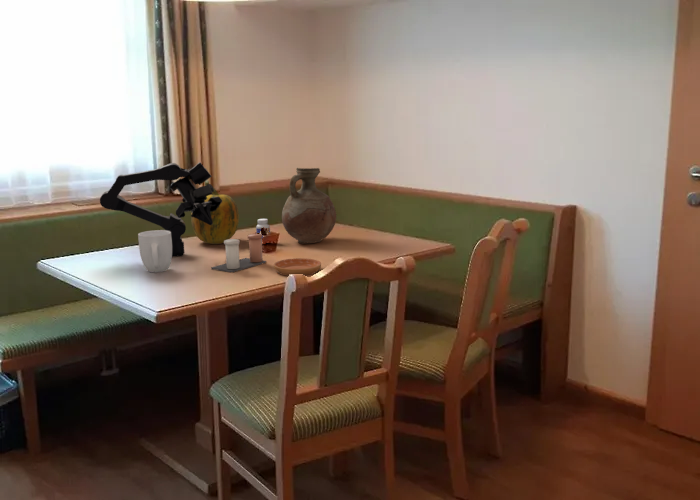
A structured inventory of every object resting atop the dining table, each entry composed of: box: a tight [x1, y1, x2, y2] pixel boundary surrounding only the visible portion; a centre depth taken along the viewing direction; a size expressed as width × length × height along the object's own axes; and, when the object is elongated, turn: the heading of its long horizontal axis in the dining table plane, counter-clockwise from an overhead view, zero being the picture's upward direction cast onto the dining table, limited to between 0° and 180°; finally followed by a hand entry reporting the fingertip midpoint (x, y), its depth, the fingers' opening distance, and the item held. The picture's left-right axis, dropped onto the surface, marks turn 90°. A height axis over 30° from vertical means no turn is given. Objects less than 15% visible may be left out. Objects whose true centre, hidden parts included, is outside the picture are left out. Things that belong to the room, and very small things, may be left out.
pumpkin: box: [190, 179, 240, 245], centre depth 295 cm, size 19×19×25 cm
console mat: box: [210, 257, 267, 273], centre depth 258 cm, size 10×17×1 cm, turn 144°
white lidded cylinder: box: [223, 238, 240, 269], centre depth 250 cm, size 5×5×9 cm
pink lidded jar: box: [247, 233, 264, 262], centre depth 259 cm, size 5×5×9 cm
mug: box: [137, 229, 173, 273], centre depth 251 cm, size 15×11×13 cm
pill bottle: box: [255, 218, 271, 234], centre depth 294 cm, size 5×5×10 cm
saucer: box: [273, 257, 322, 276], centre depth 248 cm, size 16×16×3 cm
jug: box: [281, 167, 337, 245], centre depth 292 cm, size 22×22×30 cm
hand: (211, 224), depth 268 cm, fingers closed
